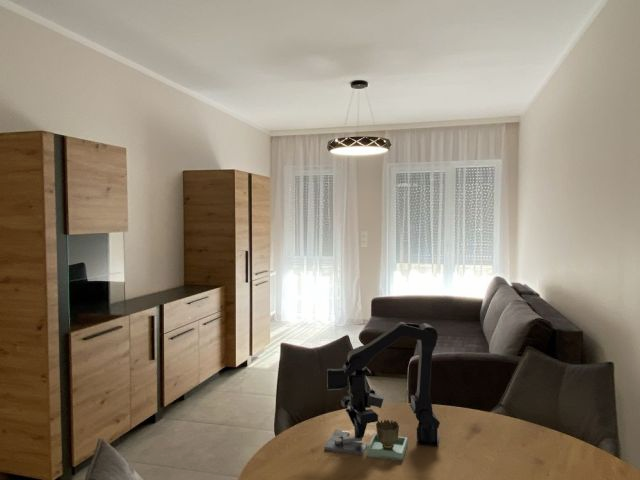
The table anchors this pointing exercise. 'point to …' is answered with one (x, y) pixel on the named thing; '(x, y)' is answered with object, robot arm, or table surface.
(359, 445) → the grey l-bracket
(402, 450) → the tray
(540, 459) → the table surface
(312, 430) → the table surface
